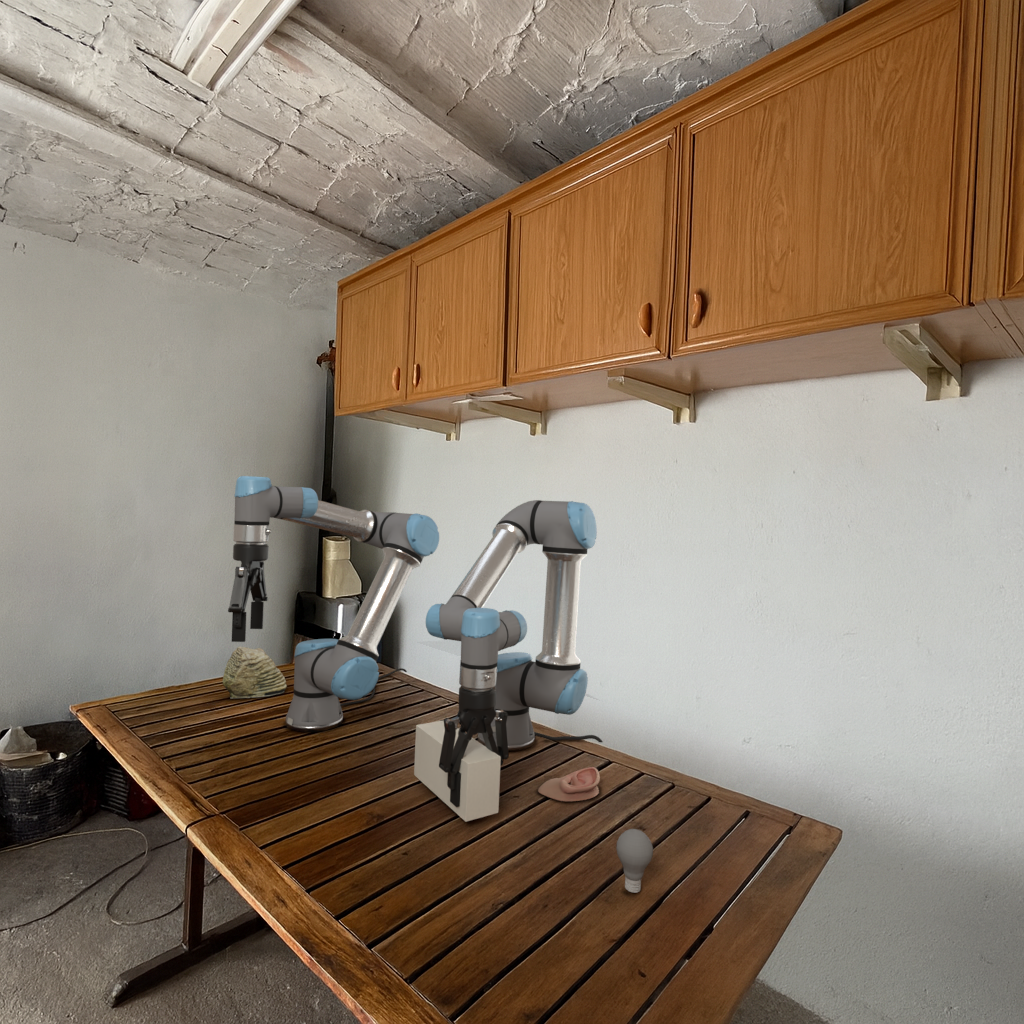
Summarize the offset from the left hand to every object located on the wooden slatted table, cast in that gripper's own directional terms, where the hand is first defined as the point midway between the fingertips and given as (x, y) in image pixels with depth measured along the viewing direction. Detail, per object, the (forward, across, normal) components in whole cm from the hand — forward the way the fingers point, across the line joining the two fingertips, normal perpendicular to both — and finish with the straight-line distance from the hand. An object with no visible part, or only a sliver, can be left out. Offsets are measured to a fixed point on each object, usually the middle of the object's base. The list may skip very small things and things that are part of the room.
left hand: (247, 635), depth 146 cm
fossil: (+31, +53, +12) cm, 62 cm away
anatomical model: (+31, -14, -74) cm, 81 cm away
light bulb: (+31, -50, -78) cm, 97 cm away
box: (+29, -18, -48) cm, 59 cm away
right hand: (+27, -25, -52) cm, 64 cm away
